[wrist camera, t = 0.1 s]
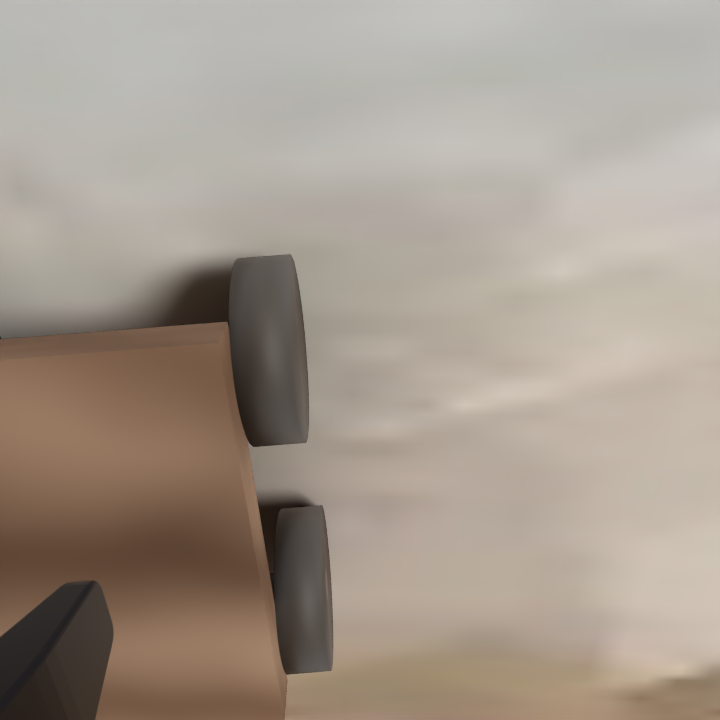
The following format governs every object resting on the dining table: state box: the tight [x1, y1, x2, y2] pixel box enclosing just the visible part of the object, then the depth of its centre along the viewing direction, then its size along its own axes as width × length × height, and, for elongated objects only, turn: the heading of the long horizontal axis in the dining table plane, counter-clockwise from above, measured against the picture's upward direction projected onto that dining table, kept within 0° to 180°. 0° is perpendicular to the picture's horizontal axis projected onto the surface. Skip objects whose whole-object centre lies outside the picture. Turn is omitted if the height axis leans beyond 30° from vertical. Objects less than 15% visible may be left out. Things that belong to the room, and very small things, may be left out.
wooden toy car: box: [0, 254, 333, 720], centre depth 21 cm, size 16×13×7 cm
